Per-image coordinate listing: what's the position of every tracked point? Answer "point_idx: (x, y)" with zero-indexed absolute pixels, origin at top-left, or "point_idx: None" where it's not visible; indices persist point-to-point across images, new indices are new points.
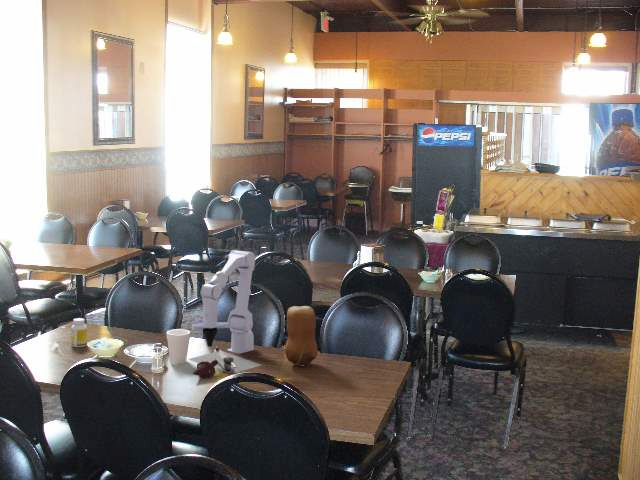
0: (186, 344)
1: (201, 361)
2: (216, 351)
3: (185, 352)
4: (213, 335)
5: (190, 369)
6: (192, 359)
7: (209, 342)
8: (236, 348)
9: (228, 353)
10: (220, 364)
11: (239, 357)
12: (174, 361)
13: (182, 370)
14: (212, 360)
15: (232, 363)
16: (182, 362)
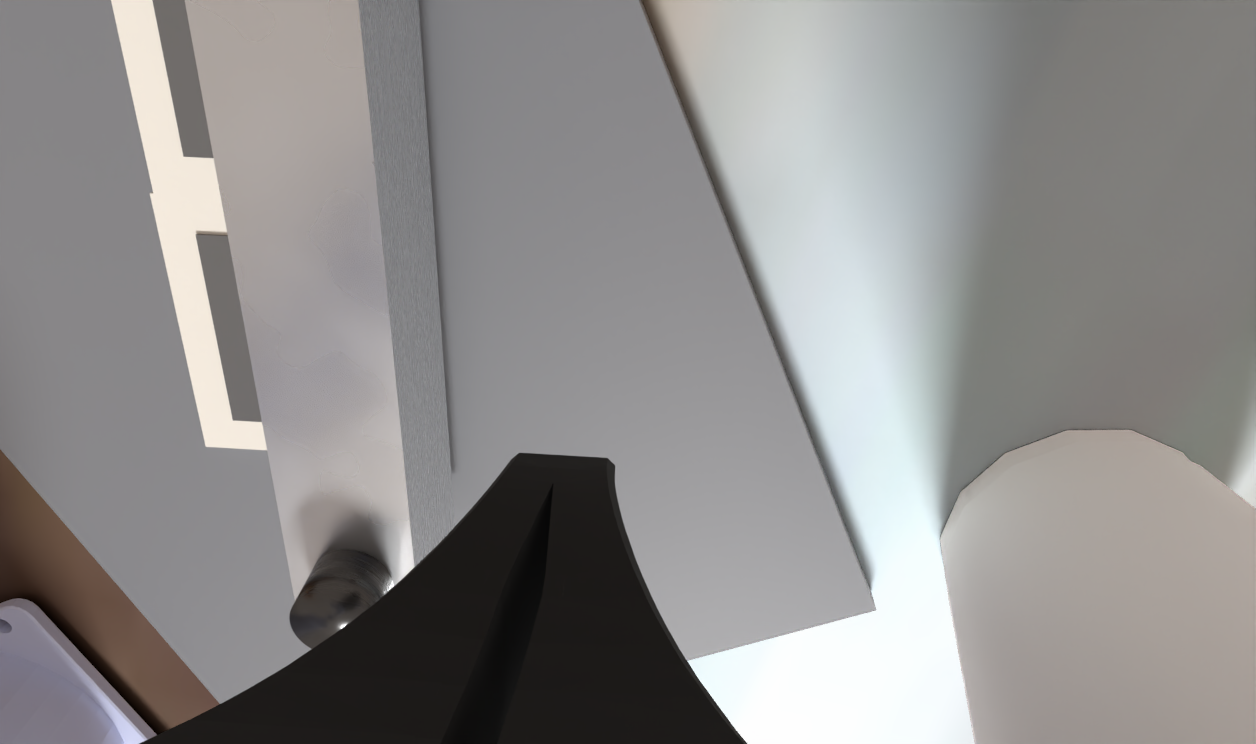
0: (1172, 722)
1: (705, 443)
2: (388, 503)
3: (1092, 580)
4: (369, 675)
5: (1048, 145)
6: (811, 574)
7: (581, 518)
8: (17, 717)
9: (181, 650)
10: (420, 43)
11: (7, 438)
12: (1232, 493)
13: (1227, 135)
14: (501, 435)
15: (149, 102)
16: (1077, 452)
